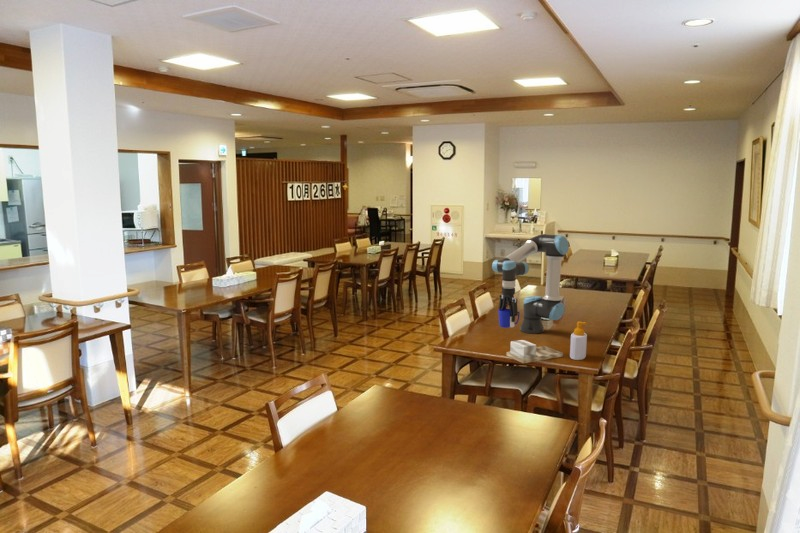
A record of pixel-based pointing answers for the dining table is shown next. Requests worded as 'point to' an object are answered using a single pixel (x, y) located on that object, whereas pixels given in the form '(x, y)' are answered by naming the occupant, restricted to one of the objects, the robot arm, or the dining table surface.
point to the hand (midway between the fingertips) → (507, 325)
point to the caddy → (531, 352)
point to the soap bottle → (578, 343)
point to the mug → (505, 318)
